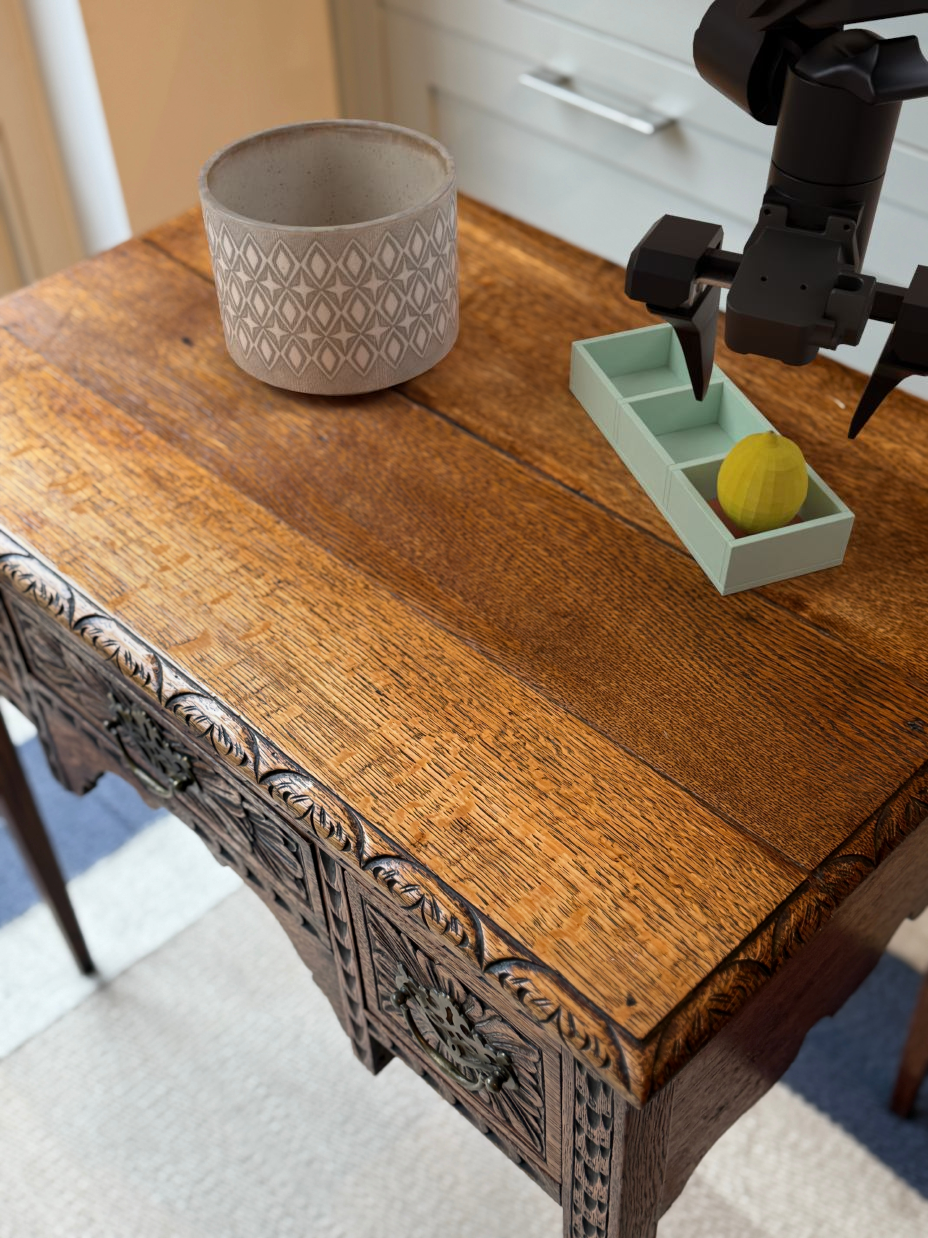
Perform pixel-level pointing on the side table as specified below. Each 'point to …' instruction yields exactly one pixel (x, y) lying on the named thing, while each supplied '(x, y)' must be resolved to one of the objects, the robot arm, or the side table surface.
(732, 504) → the fruit
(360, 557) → the side table surface
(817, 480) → the compartment tray
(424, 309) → the planter
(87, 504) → the side table surface
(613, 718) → the side table surface
